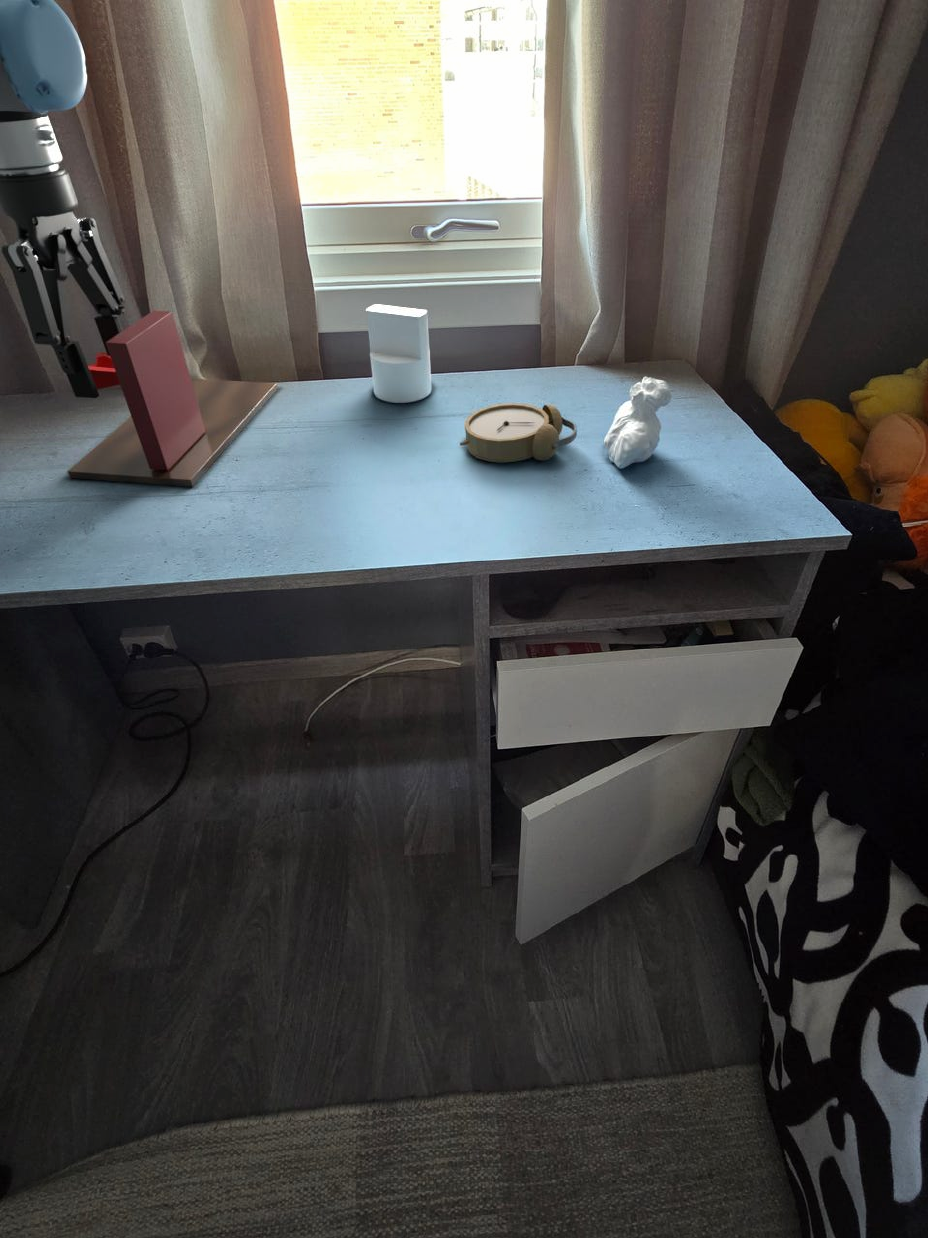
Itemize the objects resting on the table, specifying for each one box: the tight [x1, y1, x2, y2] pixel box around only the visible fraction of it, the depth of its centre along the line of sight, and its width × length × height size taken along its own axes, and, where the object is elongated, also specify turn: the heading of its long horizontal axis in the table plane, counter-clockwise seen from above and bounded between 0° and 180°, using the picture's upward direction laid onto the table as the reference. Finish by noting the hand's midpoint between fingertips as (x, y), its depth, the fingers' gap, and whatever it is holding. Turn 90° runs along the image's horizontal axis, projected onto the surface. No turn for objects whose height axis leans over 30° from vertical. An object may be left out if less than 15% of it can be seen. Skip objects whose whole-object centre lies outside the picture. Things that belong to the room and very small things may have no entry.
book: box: [106, 310, 205, 471], centre depth 86 cm, size 2×11×16 cm, turn 171°
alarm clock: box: [459, 402, 578, 463], centre depth 92 cm, size 11×5×15 cm
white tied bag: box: [603, 376, 672, 470], centre depth 88 cm, size 12×8×11 cm
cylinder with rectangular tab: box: [365, 303, 432, 404], centre depth 104 cm, size 9×9×12 cm
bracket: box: [88, 352, 121, 390], centre depth 86 cm, size 6×5×3 cm
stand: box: [67, 378, 278, 488], centre depth 99 cm, size 17×30×1 cm, turn 171°
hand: (106, 381), depth 87 cm, fingers closed on bracket, 8 cm apart
